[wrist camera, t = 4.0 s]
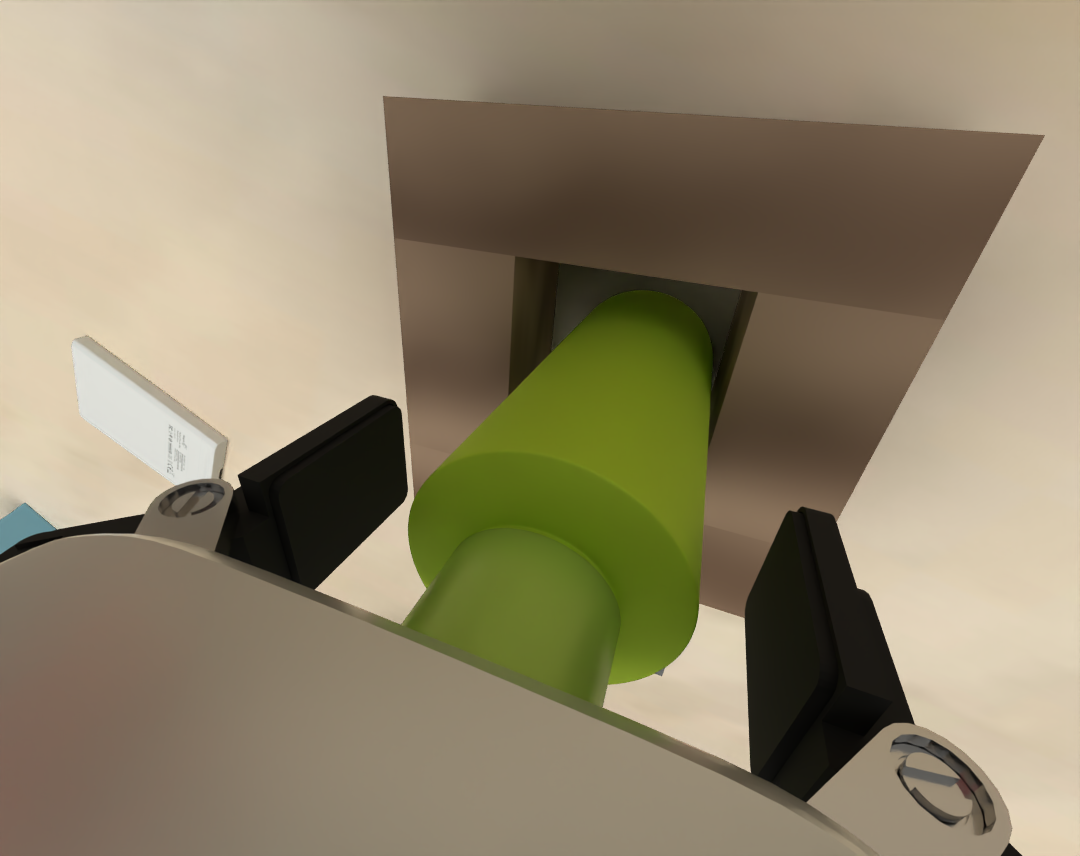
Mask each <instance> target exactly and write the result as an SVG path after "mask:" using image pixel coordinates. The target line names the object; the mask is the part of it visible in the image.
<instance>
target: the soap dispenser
mask: <svg viewBox="0 0 1080 856" xmlns="http://www.w3.org/2000/svg"><path fill="white" fill-rule="evenodd" d="M712 365H713V350H712V344H711V340H710V337H709V334H708V332H707V329H706V327H705V325H704V324H703V322H702V321H701V319H700V318H699V317H698V315H697V314H696V313H695V312H694V311H693V310H692V309H691V308H690V307H688V306H687V305H686V304H684V303H683V302H682V301H680V300H678V299H676V298H674V297H672V296H670V295H667V294H664V293H661V292H656V291H649V290H636V291H629V292H624V293H621V294H618V295H615V296H613V297H611V298H609V299H607V300H605V301H604V302H602V303H601V304H599V305H598V306H597V307H596V308H595V309H593V310H592V311H591V312H590V313H589V314H588V315H587V317H586V318H585V319H584V320H583V321H582V322H581V323H580V324H579V325H578V326H577V327H576V328H575V329H574V330H573V331H572V332H571V333H570V334H569V335H568V336H567V337H566V338H565V339H564V340H563V341H562V342H561V343H560V344H559V345H558V346H557V347H556V348H555V349H554V350H553V351H552V352H551V353H550V354H549V355H548V356H547V357H546V358H545V359H544V360H543V361H542V362H541V363H540V364H539V365H538V366H537V367H536V368H535V369H534V370H533V372H532V373H531V374H530V375H529V376H528V377H527V378H526V379H525V380H524V381H523V382H522V383H521V384H520V385H519V386H518V387H517V388H516V389H515V390H514V391H513V392H512V393H511V394H510V395H509V396H508V397H507V398H506V399H505V400H504V401H503V402H502V403H501V404H500V405H499V406H498V407H497V408H496V409H495V410H494V411H493V412H492V413H491V414H490V415H489V416H488V417H487V418H486V419H485V420H484V421H483V422H482V423H481V424H480V426H479V427H478V428H477V429H476V430H475V431H474V432H473V433H472V434H471V435H470V436H469V437H468V438H467V439H466V440H465V441H464V442H463V443H462V444H461V445H460V446H459V447H458V448H457V449H456V450H455V451H454V452H453V453H452V454H451V455H450V456H449V457H448V458H447V459H446V460H445V461H444V462H443V463H442V464H441V465H440V466H439V467H438V468H437V469H436V470H435V471H434V472H433V473H432V474H431V475H430V476H429V478H428V479H427V480H426V481H425V482H424V483H423V485H422V486H421V488H420V489H419V491H418V493H417V494H416V496H415V499H414V501H413V504H412V507H411V510H410V514H409V522H408V537H409V545H410V550H411V554H412V558H413V561H414V564H415V567H416V569H417V571H418V574H419V576H420V578H421V580H422V582H423V583H424V585H425V587H426V588H427V589H426V591H425V592H424V594H423V595H422V596H421V598H420V599H419V601H418V602H417V603H416V605H415V606H414V608H413V609H412V610H411V612H410V613H409V614H408V616H407V617H406V619H405V620H404V621H403V623H402V624H401V625H402V626H405V627H407V628H410V629H412V630H415V631H417V632H420V633H422V634H425V635H427V636H430V637H432V638H434V639H437V640H439V641H442V642H444V643H447V644H449V645H452V646H454V647H456V648H459V649H461V650H464V651H466V652H469V653H471V654H474V655H476V656H478V657H481V658H483V659H486V660H488V661H491V662H493V663H496V664H498V665H500V666H503V667H505V668H508V669H510V670H513V671H515V672H517V673H520V674H522V675H525V676H527V677H529V678H532V679H534V680H537V681H539V682H542V683H544V684H546V685H549V686H551V687H554V688H556V689H558V690H561V691H563V692H566V693H568V694H571V695H573V696H575V697H578V698H580V699H583V700H585V701H587V702H590V703H592V704H595V705H597V706H600V707H603V703H604V698H605V694H606V689H607V685H610V684H620V683H626V682H631V681H635V680H639V679H642V678H645V677H647V676H650V675H652V674H654V673H656V672H658V671H660V670H662V669H663V668H665V667H666V666H668V665H669V664H670V663H672V662H673V661H674V660H675V659H676V658H677V657H678V656H679V655H680V654H681V653H682V652H683V650H684V649H685V648H686V646H687V645H688V643H689V641H690V639H691V637H692V635H693V633H694V630H695V627H696V623H697V618H698V611H699V596H700V578H701V560H702V543H703V525H704V507H705V489H706V472H707V454H708V436H709V418H710V401H711V383H712Z"/></svg>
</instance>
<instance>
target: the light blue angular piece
mask: <svg viewBox="0 0 1080 856" xmlns="http://www.w3.org/2000/svg"><path fill="white" fill-rule="evenodd" d="M54 530H56V529H55V528H54V527H53V526H52V525H50V524H49V523H48V522H47V521H46V520H44V519H43V518H42V517H41V516H40V515H39V514H37V513H36V512H35V511H34V510H33V509H32V508H30V507H29V506H28V505H27V504H26V503H24V504H22V505H21V506H20V507H18V508H17V509H15V510H14V511H13V512H11V513H10V514H8V515H7V516H5V517H4V518H2V519H1V520H0V554H2V553H3V552H4V551H6V550H7V549H9V548H10V547H12V546H14V545H15V544H16V543H18V542H19V541H21V540H23V539H25V538H27V537H29V536H32V535H34V534H38V533H42V532H48V531H54Z"/></svg>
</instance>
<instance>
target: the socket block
mask: <svg viewBox="0 0 1080 856" xmlns="http://www.w3.org/2000/svg"><path fill="white" fill-rule="evenodd" d="M383 101H384V114H385V127H386V140H387V153H388V165H389V178H390V191H391V204H392V217H393V230H394V243H395V255H396V268H397V281H398V294H399V307H400V320H401V332H402V345H403V358H404V371H405V384H406V397H407V410H408V422H409V435H410V448H411V461H412V474H413V487H414V499H415V496H416V494H417V493H418V491H419V489H420V488H421V486H422V485H423V483H424V482H425V481H426V480H427V479H428V478H429V476H430V475H431V474H432V473H433V472H434V471H435V470H436V469H437V468H438V467H439V466H440V465H441V464H442V463H443V462H444V461H445V460H446V459H447V458H448V457H449V456H450V455H451V454H452V453H453V452H454V451H455V450H456V449H457V448H458V447H459V446H460V445H461V444H462V443H463V442H464V441H465V440H466V439H467V438H468V437H469V436H470V435H471V434H472V433H473V432H474V431H475V430H476V429H477V428H478V427H479V426H480V424H481V423H482V422H483V421H484V420H485V419H486V418H487V417H488V416H489V415H490V414H491V413H492V412H493V411H494V410H495V409H496V408H497V407H498V406H499V405H500V404H501V403H502V402H503V401H504V400H505V399H506V398H507V397H508V396H509V395H510V394H511V393H512V392H513V391H514V390H515V389H516V388H517V387H518V386H519V385H520V384H521V383H522V382H523V381H524V380H525V379H526V378H527V377H528V376H529V375H530V374H531V373H532V372H533V370H534V369H535V368H536V367H537V366H538V365H539V364H540V363H541V362H542V361H543V360H544V359H545V358H546V357H547V356H548V355H549V354H550V353H551V344H552V334H553V323H554V313H555V302H556V292H557V281H558V271H559V263H564V264H571V265H578V266H584V267H591V268H598V269H605V270H611V271H618V272H625V273H631V274H638V275H645V276H651V277H658V278H665V279H672V280H678V281H685V282H692V283H698V284H705V285H712V286H718V287H725V288H732V289H739V290H742V291H741V294H740V297H739V301H738V304H737V308H736V311H735V314H734V318H733V321H732V324H731V328H730V331H729V334H728V338H727V341H726V344H725V348H724V351H723V354H722V358H721V361H720V364H719V368H718V371H717V375H716V378H715V381H714V385H713V388H712V391H711V401H710V418H709V436H708V454H707V472H706V489H705V507H704V525H703V543H702V560H701V578H700V596H699V604H703V605H706V606H709V607H712V608H715V609H718V610H721V611H724V612H728V613H731V614H734V615H737V616H740V617H743V618H745V606H746V601H747V598H748V596H749V593H750V591H751V589H752V587H753V585H754V582H755V580H756V578H757V576H758V574H759V572H760V569H761V567H762V565H763V563H764V561H765V558H766V556H767V554H768V552H769V550H770V547H771V545H772V543H773V541H774V539H775V536H776V534H777V532H778V530H779V528H780V526H781V523H782V521H783V519H784V517H785V515H786V513H787V512H788V511H789V510H791V511H794V512H797V510H798V509H799V508H800V507H802V506H803V507H807V508H810V509H814V510H818V511H822V512H826V513H830V514H832V515H833V516H834V517H835V520H836V522H837V520H838V518H839V516H840V514H841V512H842V511H843V509H844V507H845V505H846V503H847V501H848V499H849V498H850V496H851V494H852V492H853V490H854V488H855V486H856V485H857V483H858V481H859V479H860V477H861V475H862V473H863V472H864V470H865V468H866V466H867V464H868V462H869V460H870V459H871V457H872V455H873V453H874V451H875V449H876V448H877V446H878V444H879V442H880V440H881V438H882V436H883V435H884V433H885V431H886V429H887V427H888V425H889V423H890V422H891V420H892V418H893V416H894V414H895V412H896V410H897V409H898V407H899V405H900V403H901V401H902V399H903V397H904V396H905V394H906V392H907V390H908V388H909V386H910V384H911V383H912V381H913V379H914V377H915V375H916V373H917V371H918V370H919V368H920V366H921V364H922V362H923V360H924V359H925V357H926V355H927V353H928V351H929V349H930V347H931V346H932V344H933V342H934V340H935V338H936V336H937V334H938V333H939V331H940V329H941V327H942V325H943V323H944V321H945V320H946V318H947V316H948V314H949V312H950V310H951V308H952V307H953V305H954V303H955V301H956V299H957V297H958V295H959V294H960V292H961V290H962V288H963V286H964V284H965V282H966V281H967V279H968V277H969V275H970V273H971V271H972V269H973V268H974V266H975V264H976V262H977V260H978V258H979V257H980V255H981V253H982V251H983V249H984V247H985V245H986V244H987V242H988V240H989V238H990V236H991V234H992V232H993V231H994V229H995V227H996V225H997V223H998V221H999V219H1000V218H1001V216H1002V214H1003V212H1004V210H1005V208H1006V206H1007V205H1008V203H1009V201H1010V199H1011V197H1012V195H1013V193H1014V192H1015V190H1016V188H1017V186H1018V184H1019V182H1020V180H1021V179H1022V177H1023V175H1024V173H1025V171H1026V169H1027V168H1028V166H1029V164H1030V162H1031V160H1032V158H1033V156H1034V155H1035V153H1036V151H1037V149H1038V147H1039V145H1040V143H1041V142H1042V140H1043V138H1044V136H1045V135H1030V134H1013V133H997V132H980V131H963V130H946V129H929V128H912V127H895V126H878V125H861V124H844V123H827V122H810V121H793V120H776V119H760V118H743V117H726V116H709V115H692V114H675V113H658V112H641V111H624V110H607V109H590V108H573V107H556V106H539V105H523V104H506V103H489V102H472V101H455V100H438V99H421V98H404V97H387V96H383Z"/></svg>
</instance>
